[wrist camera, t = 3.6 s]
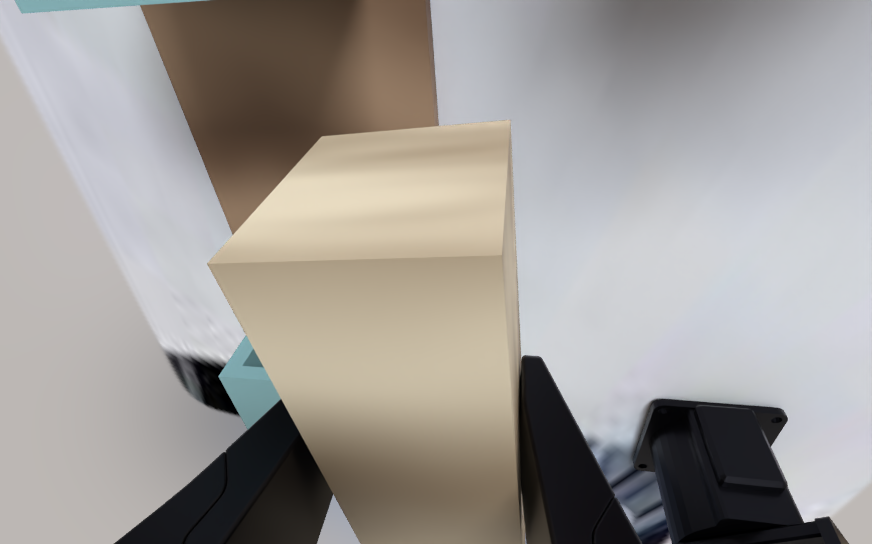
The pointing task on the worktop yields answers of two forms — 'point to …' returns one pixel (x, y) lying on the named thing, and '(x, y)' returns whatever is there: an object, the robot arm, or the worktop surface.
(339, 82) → the board
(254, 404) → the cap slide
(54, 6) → the cap fixed
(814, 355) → the worktop surface
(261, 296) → the wooden block
